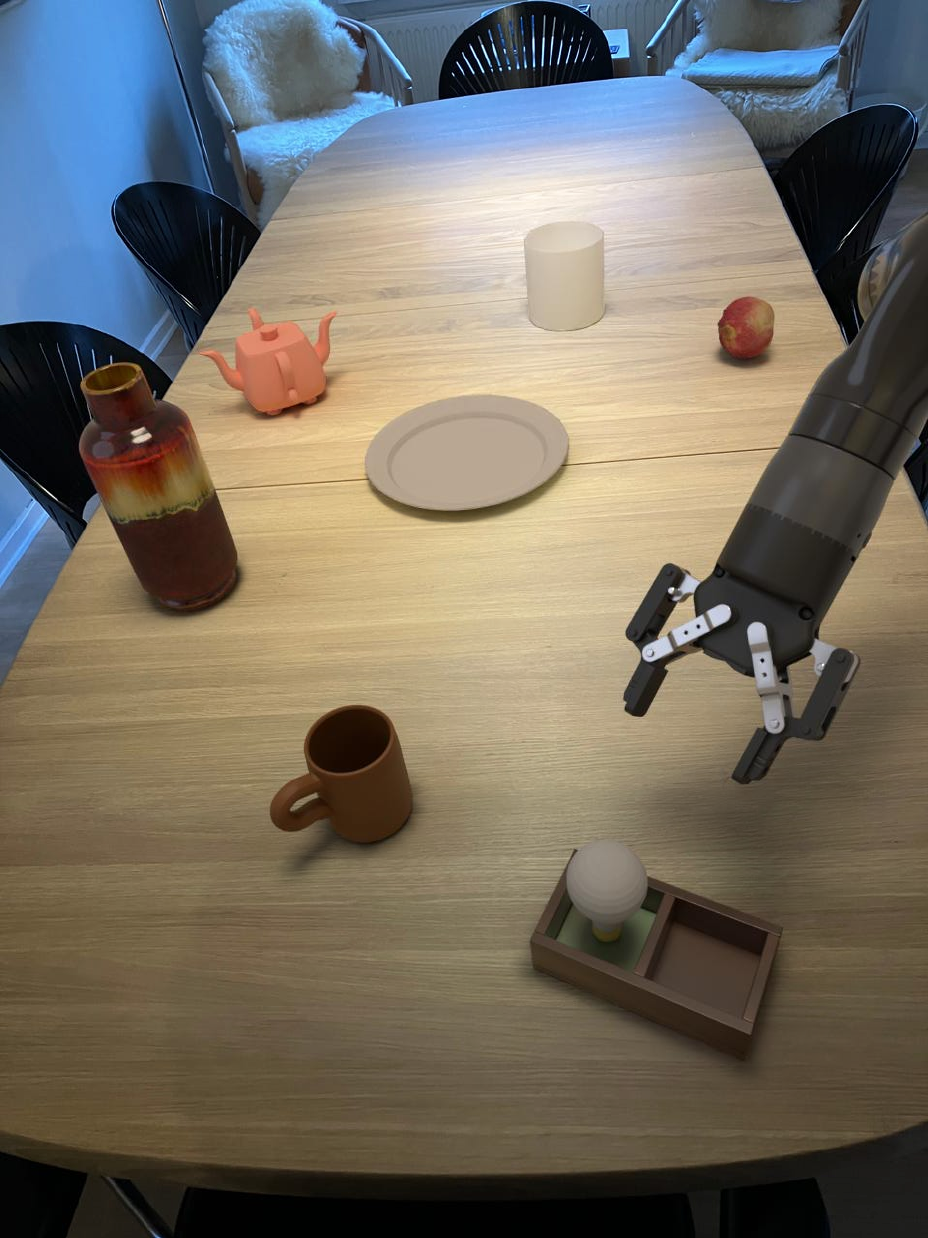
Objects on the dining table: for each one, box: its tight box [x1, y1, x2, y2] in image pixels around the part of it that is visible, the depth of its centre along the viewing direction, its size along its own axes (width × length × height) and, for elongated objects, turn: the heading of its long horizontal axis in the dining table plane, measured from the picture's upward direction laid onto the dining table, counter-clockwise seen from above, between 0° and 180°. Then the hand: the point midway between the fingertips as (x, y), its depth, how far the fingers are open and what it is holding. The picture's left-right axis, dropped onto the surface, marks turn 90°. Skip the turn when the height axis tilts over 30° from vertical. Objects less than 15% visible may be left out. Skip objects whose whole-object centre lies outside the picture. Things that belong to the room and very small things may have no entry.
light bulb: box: [567, 838, 648, 942], centre depth 64 cm, size 6×6×10 cm
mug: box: [269, 704, 413, 843], centre depth 75 cm, size 12×8×9 cm, turn 134°
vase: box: [78, 362, 238, 613], centre depth 95 cm, size 11×11×26 cm
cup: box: [523, 220, 606, 332], centre depth 139 cm, size 12×12×12 cm
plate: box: [364, 394, 570, 511], centre depth 116 cm, size 26×26×2 cm
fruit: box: [717, 296, 776, 360], centre depth 125 cm, size 8×8×8 cm
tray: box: [529, 848, 784, 1061], centre depth 65 cm, size 8×15×4 cm, turn 62°
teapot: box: [198, 307, 338, 416], centre depth 130 cm, size 14×14×11 cm
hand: (684, 746), depth 61 cm, fingers open, 8 cm apart
